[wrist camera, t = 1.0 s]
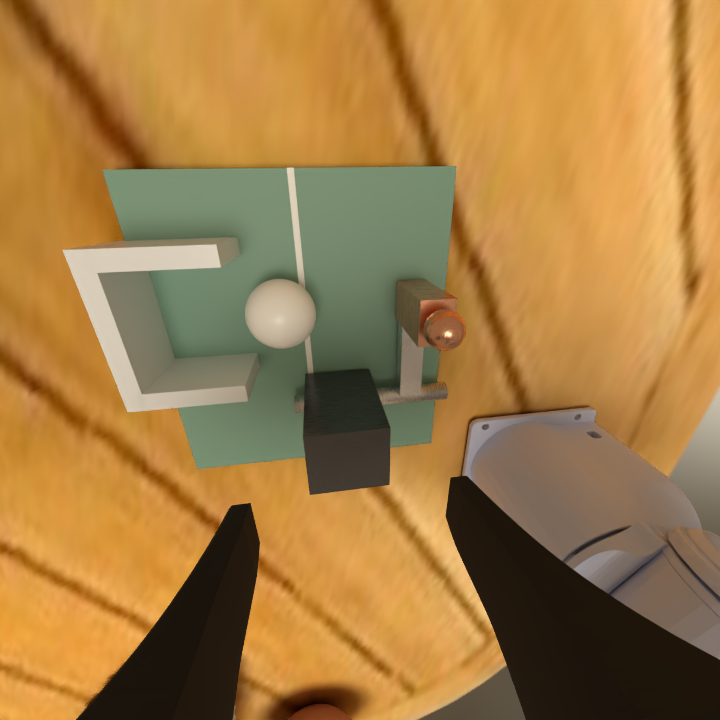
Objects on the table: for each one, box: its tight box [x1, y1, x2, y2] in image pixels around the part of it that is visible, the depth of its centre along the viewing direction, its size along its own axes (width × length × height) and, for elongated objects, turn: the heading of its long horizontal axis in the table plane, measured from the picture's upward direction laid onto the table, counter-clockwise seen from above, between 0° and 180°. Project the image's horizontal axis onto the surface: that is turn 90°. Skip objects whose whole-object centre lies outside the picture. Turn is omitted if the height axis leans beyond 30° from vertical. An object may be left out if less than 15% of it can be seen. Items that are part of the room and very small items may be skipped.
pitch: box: [102, 166, 456, 469], centre depth 18 cm, size 15×16×1 cm
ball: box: [245, 279, 316, 349], centre depth 15 cm, size 3×3×3 cm
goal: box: [63, 237, 260, 412], centre depth 14 cm, size 5×7×4 cm
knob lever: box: [294, 279, 466, 495], centre depth 15 cm, size 9×8×6 cm
